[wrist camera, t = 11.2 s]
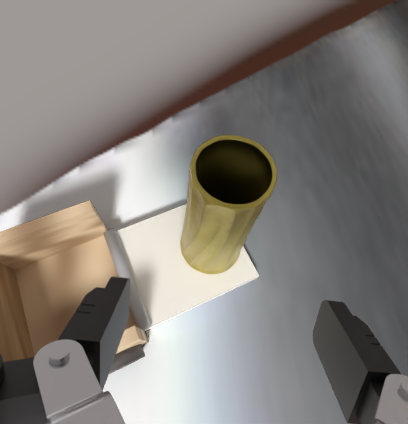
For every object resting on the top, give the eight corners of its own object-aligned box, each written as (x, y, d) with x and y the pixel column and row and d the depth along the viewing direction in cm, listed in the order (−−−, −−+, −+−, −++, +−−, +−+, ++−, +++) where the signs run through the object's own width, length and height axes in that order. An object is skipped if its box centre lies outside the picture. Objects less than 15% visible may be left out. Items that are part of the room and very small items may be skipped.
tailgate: (213, 197, 35) (215, 188, 33) (256, 278, 31) (261, 273, 29) (106, 239, 32) (102, 232, 30) (140, 333, 29) (137, 331, 27)
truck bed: (104, 221, 33) (86, 190, 26) (152, 352, 28) (144, 353, 22) (5, 258, 30) (-41, 234, 24) (39, 408, 26) (-8, 427, 19)
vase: (179, 218, 32) (180, 128, 19) (236, 216, 33) (276, 127, 20) (181, 276, 30) (185, 218, 17) (244, 273, 30) (294, 214, 17)
